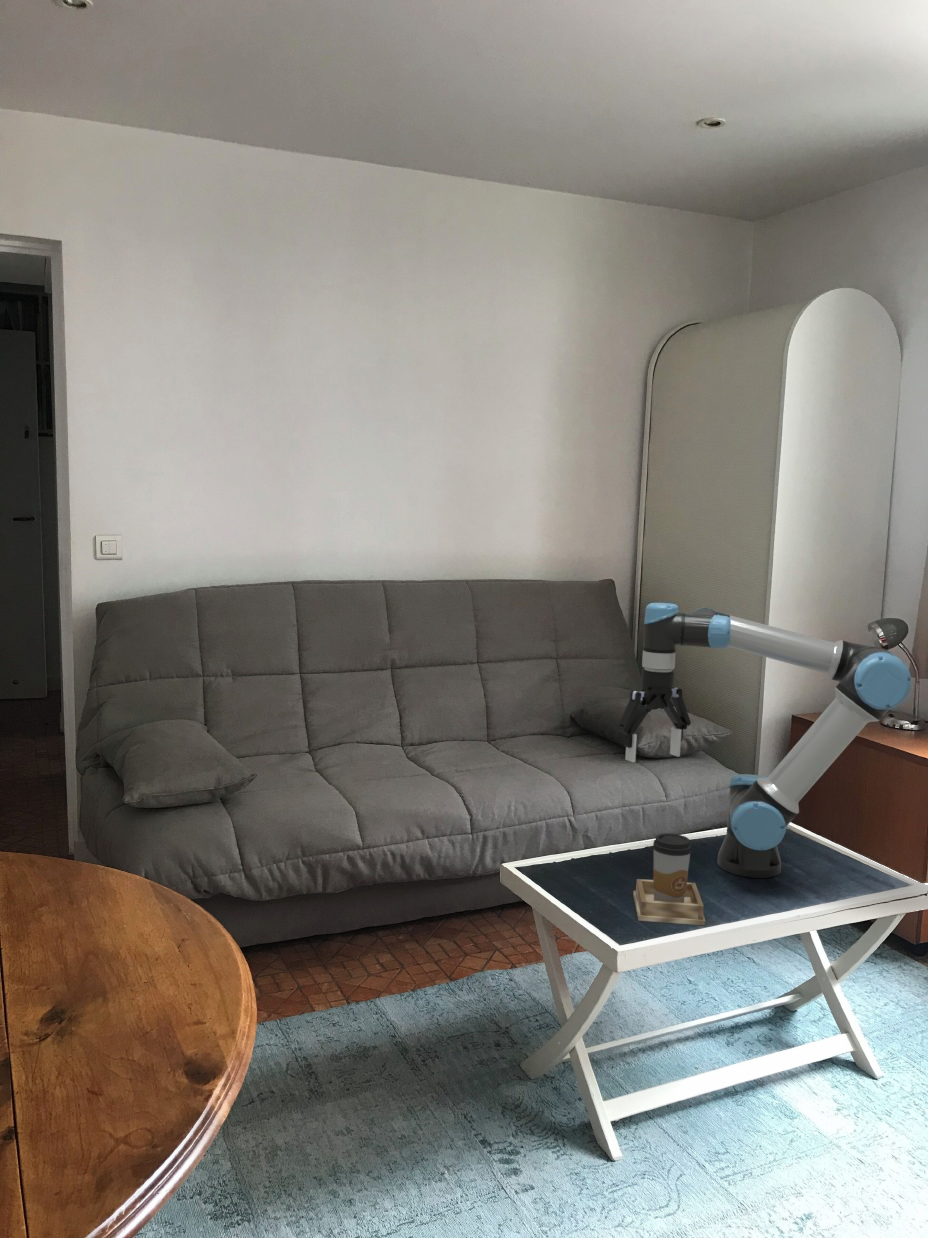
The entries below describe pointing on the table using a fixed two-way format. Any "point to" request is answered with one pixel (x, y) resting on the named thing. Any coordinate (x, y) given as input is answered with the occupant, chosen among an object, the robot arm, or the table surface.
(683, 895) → the coffee cup
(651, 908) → the open wooden box
